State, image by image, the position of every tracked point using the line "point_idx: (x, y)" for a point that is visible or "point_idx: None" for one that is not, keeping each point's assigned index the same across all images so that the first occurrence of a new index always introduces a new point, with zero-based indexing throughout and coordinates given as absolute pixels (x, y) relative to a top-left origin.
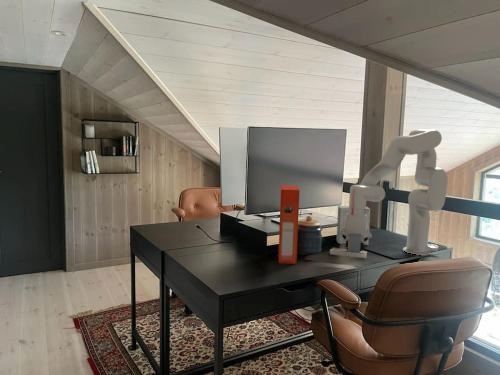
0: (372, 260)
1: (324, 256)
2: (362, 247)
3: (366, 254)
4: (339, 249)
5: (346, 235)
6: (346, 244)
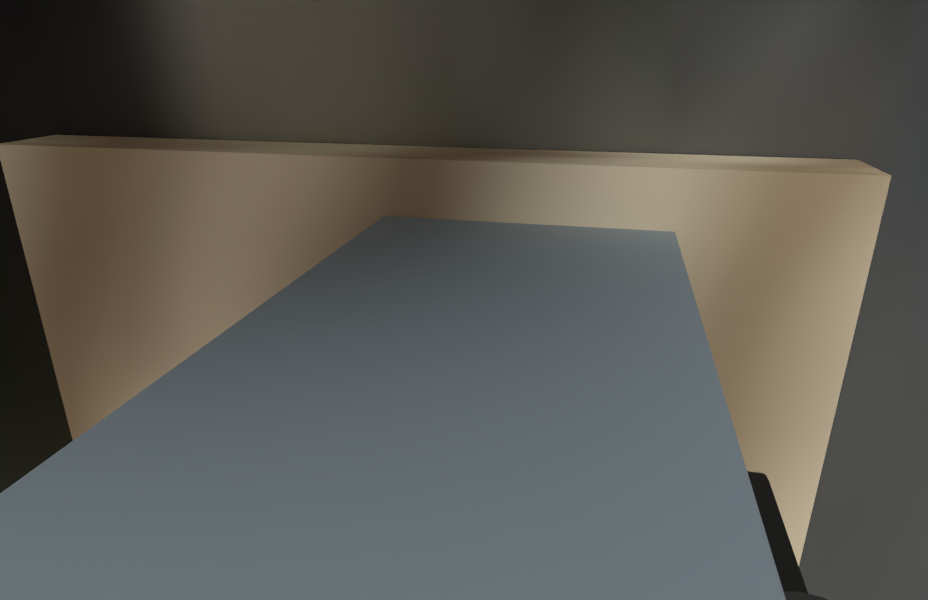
0: (915, 575)
1: None
2: None
3: (818, 472)
4: (164, 256)
5: None
6: None
